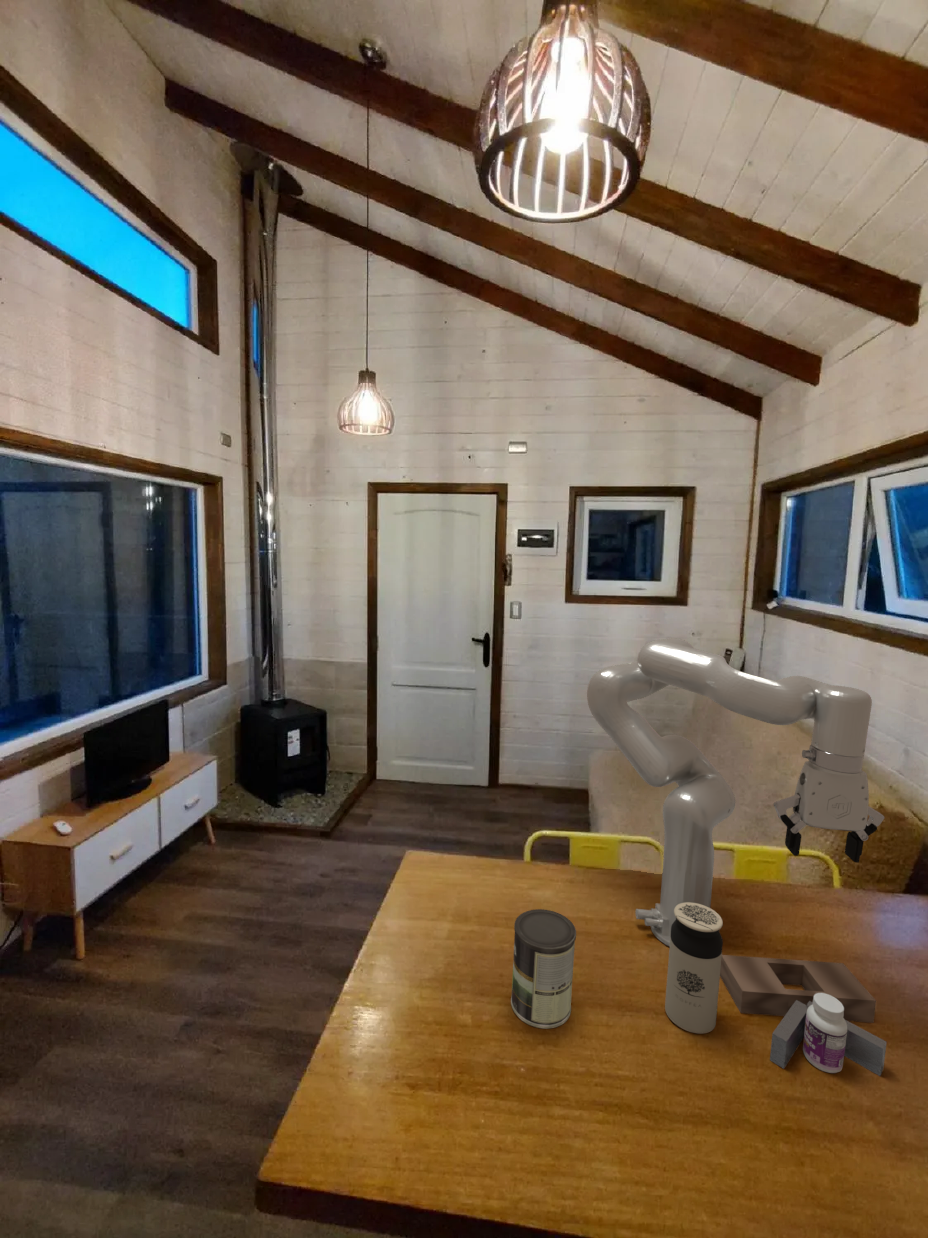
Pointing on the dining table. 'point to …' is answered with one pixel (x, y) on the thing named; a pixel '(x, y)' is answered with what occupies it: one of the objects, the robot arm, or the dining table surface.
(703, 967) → the travel mug
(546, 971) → the coffee can
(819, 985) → the wooden block with hole
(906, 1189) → the dining table surface
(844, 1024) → the pill bottle
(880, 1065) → the v block
